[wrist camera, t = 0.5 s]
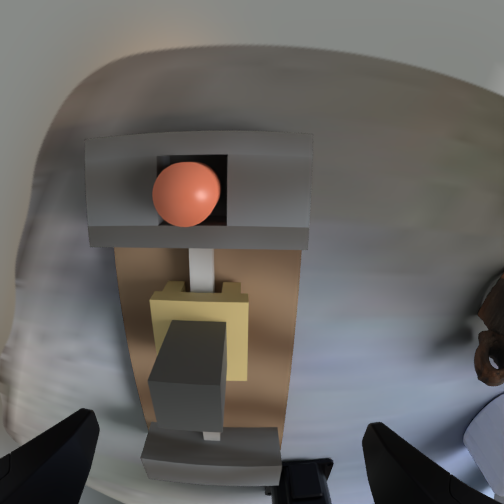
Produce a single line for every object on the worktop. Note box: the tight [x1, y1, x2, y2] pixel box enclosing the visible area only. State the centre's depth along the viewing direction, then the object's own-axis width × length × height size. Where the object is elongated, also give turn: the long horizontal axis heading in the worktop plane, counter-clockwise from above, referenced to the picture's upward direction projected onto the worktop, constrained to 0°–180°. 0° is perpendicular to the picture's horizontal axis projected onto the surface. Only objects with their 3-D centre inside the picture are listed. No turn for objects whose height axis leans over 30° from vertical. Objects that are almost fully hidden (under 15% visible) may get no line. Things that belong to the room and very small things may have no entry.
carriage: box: [148, 281, 249, 433], centre depth 15 cm, size 5×5×8 cm
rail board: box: [85, 131, 313, 486], centre depth 18 cm, size 24×11×6 cm, turn 179°
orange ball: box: [152, 162, 221, 227], centre depth 12 cm, size 2×2×2 cm
